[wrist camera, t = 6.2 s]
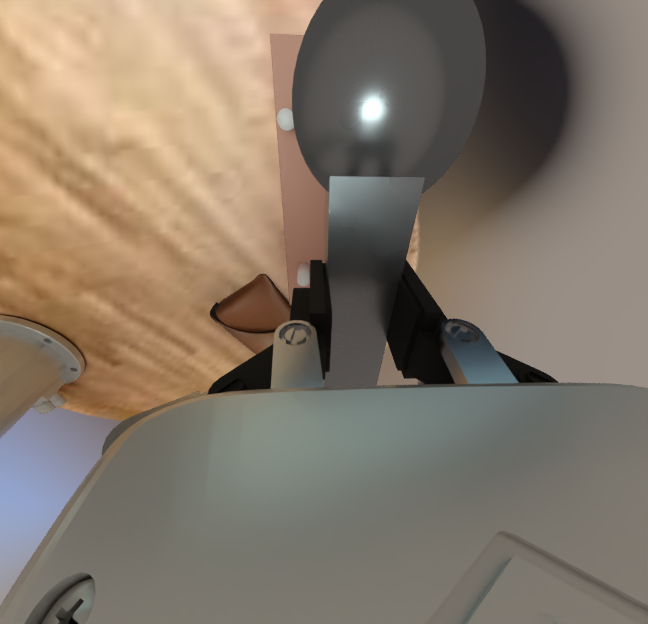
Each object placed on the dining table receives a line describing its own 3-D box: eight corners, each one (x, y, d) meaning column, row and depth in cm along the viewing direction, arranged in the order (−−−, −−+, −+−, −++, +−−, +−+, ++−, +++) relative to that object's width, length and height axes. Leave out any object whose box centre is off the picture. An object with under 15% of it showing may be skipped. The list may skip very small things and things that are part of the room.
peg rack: (370, 299, 31) (377, 319, 28) (290, 300, 30) (288, 320, 27) (413, 44, 17) (436, 26, 14) (271, 38, 17) (262, 17, 14)
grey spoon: (373, 385, 18) (382, 425, 16) (307, 387, 18) (307, 427, 15) (455, 13, 7) (525, -43, 5) (293, 6, 7) (284, -55, 5)
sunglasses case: (346, 355, 37) (330, 397, 33) (314, 354, 41) (296, 391, 38) (262, 268, 27) (226, 314, 24) (232, 280, 32) (200, 320, 29)
